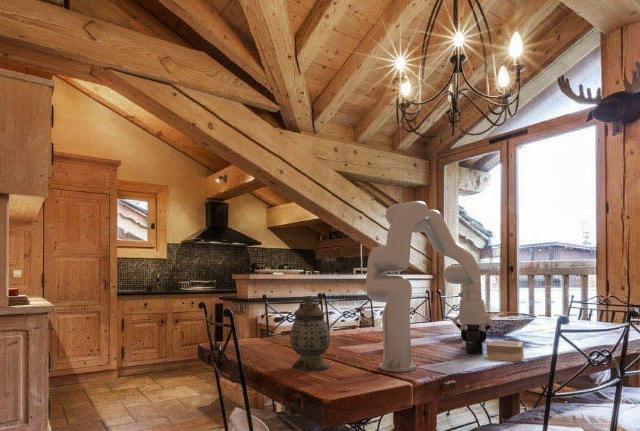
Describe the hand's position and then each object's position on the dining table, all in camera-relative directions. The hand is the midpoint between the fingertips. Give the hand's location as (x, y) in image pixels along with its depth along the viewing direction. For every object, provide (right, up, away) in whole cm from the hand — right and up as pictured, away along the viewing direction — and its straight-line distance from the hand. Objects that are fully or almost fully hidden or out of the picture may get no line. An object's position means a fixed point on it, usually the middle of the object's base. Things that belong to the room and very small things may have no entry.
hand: (473, 340), depth 190 cm
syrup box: (+2, -6, +11) cm, 12 cm away
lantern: (-65, -3, -25) cm, 69 cm away
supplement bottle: (0, -5, -1) cm, 5 cm away
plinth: (+9, -4, -9) cm, 14 cm away
